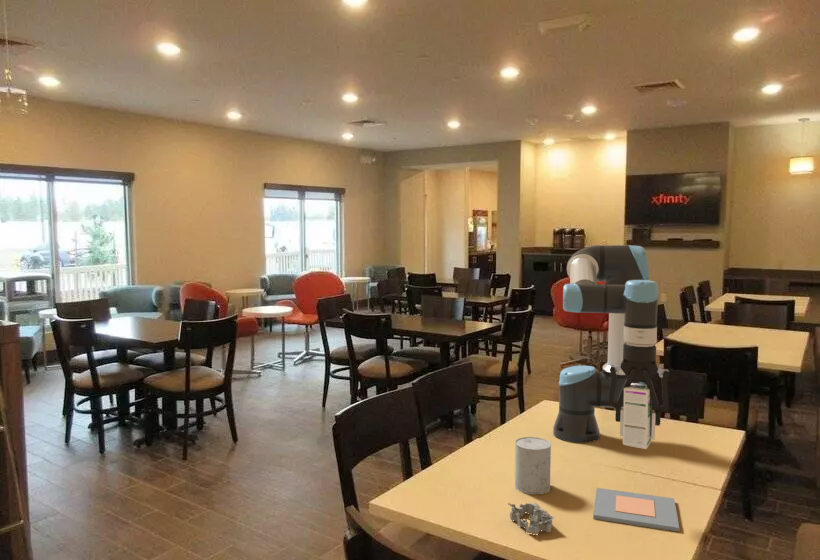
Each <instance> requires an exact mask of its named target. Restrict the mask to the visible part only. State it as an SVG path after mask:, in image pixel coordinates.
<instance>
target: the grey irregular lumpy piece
mask: <svg viewBox="0 0 820 560" xmlns="http://www.w3.org/2000/svg"><path fill="white" fill-rule="evenodd" d="M507 505H508V506H510V507H511V510H510V513H509V518H510V519H511V520H512V521H513V520H514V521H518V522H517V527H518V526H520V527H525V528H526V529H525V528H524V529H525V533H526V532H527V533H532V534H535V535H536V534H539V533H540V532H539V531H541V530H542V531H546V532H550V533H551V532H552V529H553V520H554V519H555V518H556V517H555V516H552V515H550V513H548V511H547V510H544V508H542V507H541V506H540V505H539V503H538V502H530V503H529V502H528V503H527V502H526V503H525V504H522V503H521V504H520V505H519V506H518V507H517V506H516V504H515V503H512V504H511V503H510V502H508V503H507ZM525 512H527V513H529V514H528V515H529V519H530V523H528V522H527V519H528V518H527V519H525V518H524V519H525V520H522V519H523V518H522V519H520V518H521V517H520V516H522V517H524V515H525V514H527V513H525ZM524 513H525V514H524ZM531 514H532V515H531ZM511 520H510V521H511ZM540 520H542V521H540ZM512 521H511V522H512ZM514 521H513V522H514ZM528 524H529V525H528ZM520 527H519V528H520ZM551 528H552V529H551ZM546 532H545V533H546Z"/></svg>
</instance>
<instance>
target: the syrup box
mask: <svg viewBox="0 0 820 560" xmlns="http://www.w3.org/2000/svg"><path fill="white" fill-rule="evenodd" d="M652 410H653V402H652V400H651V397H650V390H649V389H648V388H647V385H646V383H644V384H638V383H631V385H630V387H625V388H624V406H623V436H622V445H624V446H627V447H632V448H638V449H643V450H647V449H648V447H649V446H650V444H651V443H652V439H651V418H652Z"/></svg>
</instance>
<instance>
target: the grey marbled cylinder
mask: <svg viewBox="0 0 820 560" xmlns="http://www.w3.org/2000/svg"><path fill="white" fill-rule="evenodd" d="M514 445H515V458H514V459H515V460H514V461H515V464H514V470H515V471H514V489H515V490H517V489H518V490H519V491H518V490H517V491H518V492H520V491H521V493H522V492H524V493H523V494H525V493H527V494H526V495H530V494H541V495H545V494H547V492H548V493H549V492H550V491H551V464H552V463H551V458H552V457H551V455H552V453H551V452H552V450H551V449H552V443H551V442H550V441H549V440H548V439H545V438H541V437H534V436H527V437H520V438H518V439H516V440H515V443H514ZM544 493H545V494H544Z"/></svg>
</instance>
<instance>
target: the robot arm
mask: <svg viewBox="0 0 820 560" xmlns="http://www.w3.org/2000/svg"><path fill="white" fill-rule="evenodd" d="M649 269H650V268H649V261H648V256H647V251H646V249H645V248H644V247H643V246H641V245H631V244H629V245H628V244H623V245H622V244H618V245H616V244H615V245H610V244H609V245H598V244H597V245H591V246H587V247H583V248H582V249H579V250H578V251H576V252H574V253H573V254H572V255H571V257H570V258H569V259H568V261H567V264H566V273H567V276H568V277H569V283H565V284H564V285H563V288H562V289H563V290H562V310H564V311H565V312H568V313H569V312H570V313H576V314H577V313H579V314H581V313H584V314H586V313H587V314H588V313H589V314H590V313H591V314H595V313H597V314H608V336H607V337H608V338H607V342H608V343H607V362H606V363H604V364H603V365H602V369H601V370H602V371H597V369H596V367H594V366H592V365H573V366H568V367H565V368H563V369H562V370H561V371H560V374H559V382H558V386H559V390H558V391H559V392H558V393H559V396H558V413H557V416H556V419H555V420H554V421H555V422H554V424H553V431H552V432H553V435H554V437H556V438H558V439H560V440H563V441H566V442H571V443H592V442H596V441H598V440H599V439H600V428H599V425H598V421H597V418H596V415H595V410H596V409H595V407H596V408H609V409H610V408H611V409H615V422H618V423H619V425H620V426H619V436H620V437H623V406H624V388H625V387H630V385H631V383H638V384H645V385H647V388H648V389H649V390H650V397H651V400H652V406H653V408H654V409H652V418H651V441H652V440H653V441H655V439H656V427H657V426H658V427H660V425H661V413H663V412H669V411H670V406H669V404H670V403H669V402H670V401H669V391H668V379H669V376H670V371H669V369H668V368H660V367H658V364H657V346H656V345H655V344H656V343H657V338H658V336H657V335H658V334H657V333H658V306H659V297H660V294H659V284H658V283H657V281H656V280H655V281H654V280H650V270H649ZM598 282H604V284H603V283H602V284H601V283H600V284H599V283H598ZM656 373H658V377H659V378H660V379H661V381H660V383H661V397H662V404H660V403H659V399H658V397H657V394H656V392H655V388H654V385H653V382H652V378H653V377H654V376H655V375H656Z"/></svg>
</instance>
